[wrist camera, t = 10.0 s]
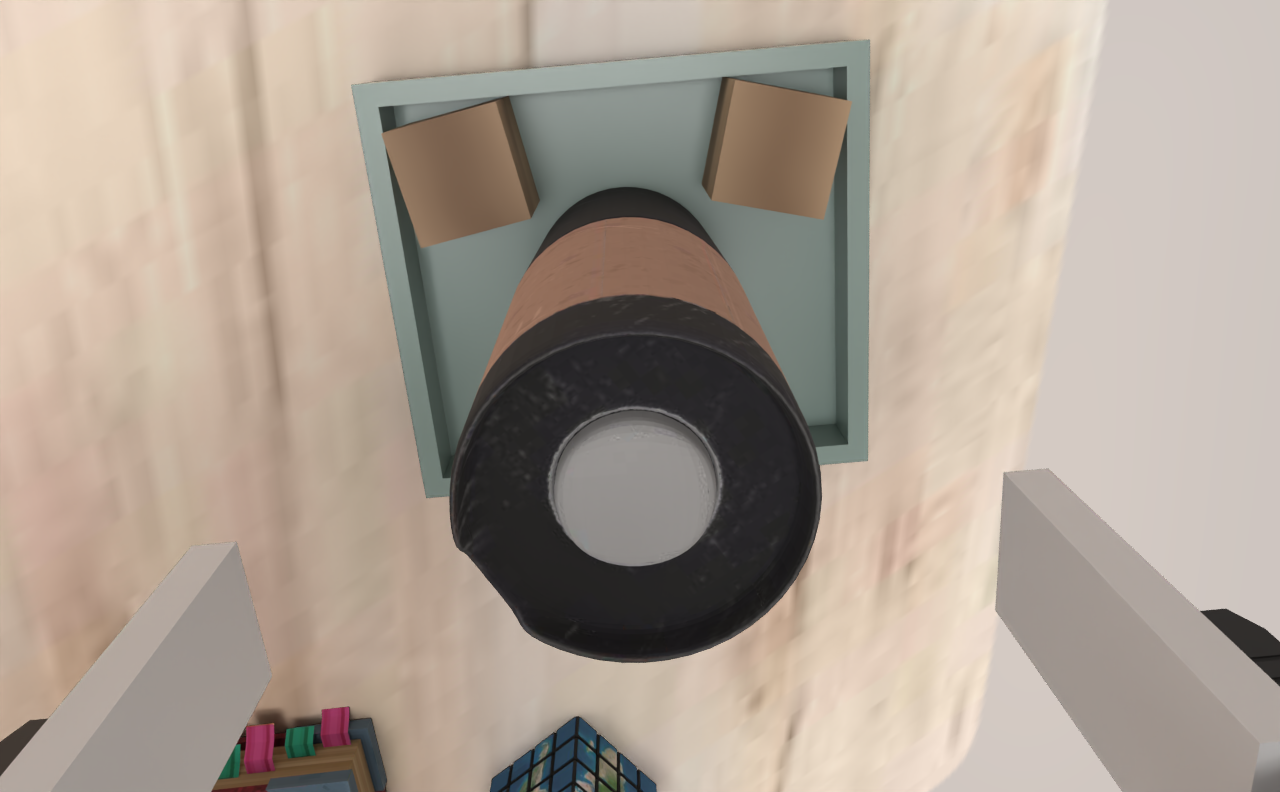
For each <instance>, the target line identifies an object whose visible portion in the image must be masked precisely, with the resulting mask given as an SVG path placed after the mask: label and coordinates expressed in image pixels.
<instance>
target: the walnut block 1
mask: <svg viewBox="0 0 1280 792" xmlns="http://www.w3.org/2000/svg"><path fill="white" fill-rule="evenodd" d="M381 135H382V138H383V141H384V144H385V146H386V149H387V152H388V155H389V158H390V161H391V164H392V166H393V169H394V172H395V175H396V178H397V181H398V184H399V187H400V189H401V192H402V195H403V198H404V201H405V204H406V207H407V209H408V212H409V215H410V218H411V221H412V224H413V227H414V229H415V232H416V235H417V238H418V241H419V244H420V247H421V248H424V247H428V246H432V245H435V244H439V243H443V242H446V241H450V240H454V239H458V238H461V237H465V236H469V235H472V234H476V233H480V232H484V231H487V230H491V229H495V228H498V227H502V226H506V225H510V224H513V223H517V222H521V221H524V220H528V219H531V218H532V216H533V214H534V212H535V210H536V208H537V206H538V204H539V202H540V199H539V196H538V193H537V189H536V186H535V182H534V179H533V176H532V172H531V169H530V166H529V162H528V159H527V156H526V152H525V149H524V145H523V142H522V139H521V135H520V132H519V129H518V125H517V122H516V119H515V115H514V112H513V109H512V105H511V102H510V98H509V96H506V97H502V98H499V99H495V100H491V101H488V102H484V103H481V104H477V105H474V106H470V107H466V108H463V109H459V110H456V111H452V112H448V113H445V114H441V115H438V116H434V117H431V118H427V119H423V120H420V121H416V122H413V123H409V124H406V125H403V126H400V127H397V128H395V129H392V130H389V131H387V132H384V133H381Z"/></svg>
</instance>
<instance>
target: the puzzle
mask: <svg viewBox="0 0 1280 792" xmlns="http://www.w3.org/2000/svg"><path fill="white" fill-rule="evenodd" d="M490 792H657V791H656V784H655V783H654V782H652V781H651V780H650V779H649V778H648V777H647V776H646V775H644V774H643V773H642V772H641V771H639V770H637V768H636V767H635V766H634V765H633V764H632V763H631V762H630V761H629V760H628V759H626V758H625V757H624V756H623V755H622V754H620V753H617V750H616V749H615V748H614V747H613V746H612V745H611V744H610V743H608V742H607V741H606V740H605V739H604V738H603V737H602V736H600V735H597V732H596V731H595V730H594V729H593V728H592V727H590V726H589V725H588V724H587V723H586V722H585V721H584V720H583V719H581V718H579V717H575V718H573V719H572V720H571V721H569V722H568V723H567V724H565V725H564V726H563V727H561V728H560V729H558V731H557V734H556V733H554V734H552V735H550V736H549V737H548V738H546V739H545V740H544V741H542V742H541V743H540V744H538V745H537V746H536V747H535V750H532V751H531V750H530V751H529V752H528V753H526V754H525V755H524V756H522V757H521V758H520V759H518V760H517V761H516V762H514V764H513V766H510V767H508V768H506V769H505V770H504V771H502V772H501V773H500V774H498V775H497V776H496V777H494V778H493V779H492V783H491V789H490Z"/></svg>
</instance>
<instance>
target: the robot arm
mask: <svg viewBox="0 0 1280 792" xmlns="http://www.w3.org/2000/svg"><path fill="white" fill-rule="evenodd" d="M995 610H996V612H997V613H998V615H999V616H1000V617H1001V619H1002V620H1003V621H1004V623H1005V625H1006V626H1007V627H1008V629H1009V630H1010V632H1011V633H1012V635H1013V636H1014V637H1015V639H1016V640H1017V642H1018V643H1019V645H1020V646H1021V647H1022V649H1023V650H1024V652H1025V653H1026V655H1027V656H1028V657H1029V659H1030V660H1031V662H1032V663H1033V664H1034V666H1035V668H1036V669H1037V670H1038V672H1039V673H1040V675H1041V676H1042V677H1043V679H1044V680H1045V682H1046V683H1047V685H1048V686H1049V688H1050V689H1051V690H1052V692H1053V693H1054V695H1055V696H1056V697H1057V699H1058V700H1059V702H1060V703H1061V705H1062V706H1063V708H1064V709H1065V710H1066V712H1067V713H1068V715H1069V716H1070V717H1071V719H1072V720H1073V722H1074V723H1075V725H1076V726H1077V728H1078V729H1079V730H1080V732H1081V733H1082V735H1083V736H1084V738H1085V739H1086V740H1087V742H1088V743H1089V745H1090V746H1091V748H1092V749H1093V751H1094V752H1095V753H1096V755H1097V756H1098V758H1099V759H1100V760H1101V762H1102V763H1103V765H1104V766H1105V767H1106V769H1107V771H1108V772H1109V773H1110V775H1111V776H1112V778H1113V779H1114V781H1115V782H1116V783H1117V785H1118V786H1119V788H1120V789H1121V790H1122V792H1280V642H1279V641H1278V640H1277V639H1276V638H1275V637H1274V636H1273V635H1271V634H1270V633H1269V632H1268V631H1267V630H1266V629H1264V628H1262V627H1260V626H1258V625H1257V624H1255V623H1253V622H1251V621H1249V620H1247V619H1245V618H1243V617H1241V616H1239V615H1237V614H1235V613H1233V612H1231V611H1229V610H1227V609H1218V610H1206V611H1199V610H1198V609H1197V608H1196V607H1195V606H1194V605H1193V604H1192V603H1191V602H1189V601H1188V600H1187V599H1186V598H1185V597H1184V596H1183V595H1182V594H1181V593H1180V592H1179V591H1178V590H1177V589H1176V588H1175V587H1173V585H1171V584H1170V583H1169V582H1168V581H1167V580H1166V579H1165V578H1164V577H1163V576H1162V575H1161V574H1160V573H1159V572H1158V571H1157V570H1156V569H1154V568H1153V567H1152V566H1151V565H1150V564H1149V563H1148V562H1147V561H1146V560H1145V559H1144V558H1143V557H1142V556H1141V555H1140V554H1139V553H1137V552H1136V551H1135V550H1134V549H1133V548H1132V547H1131V546H1130V545H1129V544H1128V543H1127V542H1126V541H1125V540H1124V539H1123V538H1122V537H1120V536H1119V535H1118V534H1117V533H1116V532H1115V531H1114V530H1113V529H1112V528H1111V527H1110V526H1109V525H1108V524H1107V523H1106V522H1104V521H1103V520H1102V519H1101V518H1100V517H1099V516H1098V515H1097V514H1096V513H1095V512H1094V511H1093V510H1092V509H1091V508H1090V507H1089V506H1088V505H1086V504H1085V503H1084V502H1083V501H1082V500H1081V499H1080V498H1079V497H1078V496H1077V495H1076V494H1075V493H1074V492H1073V491H1071V489H1070V488H1068V487H1067V486H1066V485H1065V484H1064V483H1063V482H1062V481H1061V480H1060V479H1059V478H1058V477H1057V476H1056V475H1054V473H1053V472H1051V471H1050V470H1049V469H1037V470H1026V471H1015V472H1004V476H1003V493H1002V509H1001V525H1000V542H999V558H998V575H997V591H996V608H995ZM271 678H272V673H271V669H270V666H269V662H268V658H267V654H266V650H265V647H264V643H263V639H262V635H261V632H260V628H259V624H258V620H257V617H256V613H255V609H254V605H253V601H252V598H251V594H250V590H249V586H248V583H247V579H246V575H245V571H244V568H243V564H242V560H241V556H240V553H239V549H238V545H237V542H229V543H218V544H207V545H195V546H191V547H190V548H189V550H188V551H187V552H186V553H185V554H184V556H183V557H182V558H181V559H180V561H179V562H178V563H177V564H176V565H175V567H174V568H173V569H172V570H171V571H170V573H169V574H168V575H167V576H166V577H165V579H164V580H163V581H162V582H161V583H160V585H159V586H158V587H157V588H156V589H155V591H154V592H153V593H152V594H151V595H150V597H149V598H148V599H147V600H146V601H145V603H144V604H143V605H142V606H141V607H140V609H139V610H138V611H137V612H136V614H135V615H134V616H133V617H132V618H131V620H130V621H129V622H128V623H127V624H126V626H125V627H124V628H123V629H122V630H121V632H120V633H119V634H118V635H117V636H116V638H115V639H114V640H113V641H112V642H111V644H110V645H109V646H108V647H107V648H106V650H105V651H104V652H103V653H102V654H101V656H100V657H99V658H98V659H97V661H96V662H95V663H94V664H93V665H92V667H91V668H90V669H89V670H88V671H87V673H86V674H85V675H84V676H83V677H82V679H81V680H80V681H79V682H78V683H77V685H76V686H75V687H74V688H73V689H72V691H71V692H70V693H69V694H68V695H67V697H66V698H65V699H64V700H63V701H62V703H61V704H60V705H59V706H58V708H57V709H56V710H55V711H54V712H53V714H52V715H51V716H50V717H49V718H48V719H40V720H30V721H28V722H27V723H26V724H24V725H23V726H21V727H20V728H19V729H17V730H16V731H15V732H13V733H12V734H10V735H9V736H8V737H6V738H5V739H4V740H2V741H1V742H0V792H211V791H212V789H213V787H214V785H215V783H216V782H217V780H218V778H219V776H220V774H221V772H222V770H223V768H224V766H225V765H226V763H227V761H228V759H229V757H230V755H231V753H232V751H233V749H234V747H235V746H236V744H237V742H238V740H239V738H240V736H241V734H242V732H243V730H244V729H245V727H246V725H247V723H248V721H249V719H250V717H251V715H252V713H253V712H254V710H255V708H256V706H257V704H258V702H259V700H260V698H261V696H262V695H263V693H264V691H265V689H266V687H267V685H268V683H269V681H270V679H271Z"/></svg>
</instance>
